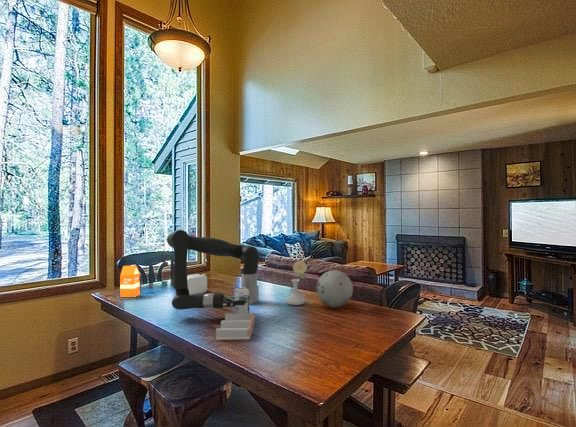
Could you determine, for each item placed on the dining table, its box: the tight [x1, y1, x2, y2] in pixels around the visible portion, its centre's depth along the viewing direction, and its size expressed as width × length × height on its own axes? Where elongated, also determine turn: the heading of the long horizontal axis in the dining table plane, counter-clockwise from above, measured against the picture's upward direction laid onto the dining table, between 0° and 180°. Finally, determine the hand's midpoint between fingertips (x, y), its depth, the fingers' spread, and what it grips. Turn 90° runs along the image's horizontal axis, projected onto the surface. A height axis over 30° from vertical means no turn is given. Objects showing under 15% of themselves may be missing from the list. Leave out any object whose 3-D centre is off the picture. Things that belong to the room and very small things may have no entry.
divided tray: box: [215, 312, 256, 341], centre depth 143 cm, size 14×22×4 cm, turn 0°
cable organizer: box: [187, 273, 208, 295], centre depth 212 cm, size 15×11×12 cm
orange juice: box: [119, 265, 141, 298], centre depth 205 cm, size 8×9×20 cm
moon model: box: [316, 269, 354, 308], centre depth 176 cm, size 20×20×20 cm
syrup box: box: [234, 287, 250, 313], centre depth 160 cm, size 6×6×14 cm
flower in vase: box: [285, 260, 308, 306], centre depth 182 cm, size 13×11×25 cm
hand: (245, 300), depth 160 cm, fingers open, 8 cm apart
